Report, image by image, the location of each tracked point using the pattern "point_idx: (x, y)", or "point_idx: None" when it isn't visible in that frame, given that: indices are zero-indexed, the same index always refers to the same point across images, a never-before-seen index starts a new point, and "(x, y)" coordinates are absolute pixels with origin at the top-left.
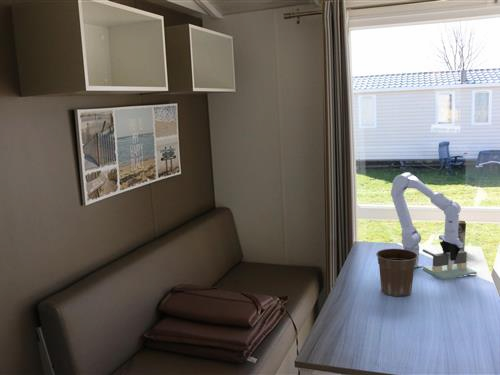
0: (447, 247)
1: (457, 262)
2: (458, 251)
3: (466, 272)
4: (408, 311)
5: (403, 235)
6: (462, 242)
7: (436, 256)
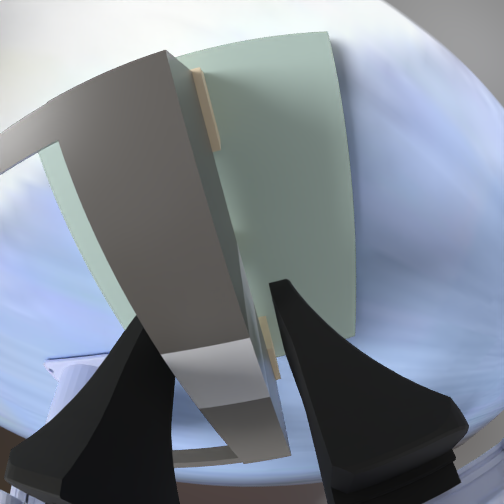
0: (140, 443)
1: (224, 204)
2: (368, 363)
3: (331, 134)
4: (464, 402)
5: None
6: None
7: (289, 450)
